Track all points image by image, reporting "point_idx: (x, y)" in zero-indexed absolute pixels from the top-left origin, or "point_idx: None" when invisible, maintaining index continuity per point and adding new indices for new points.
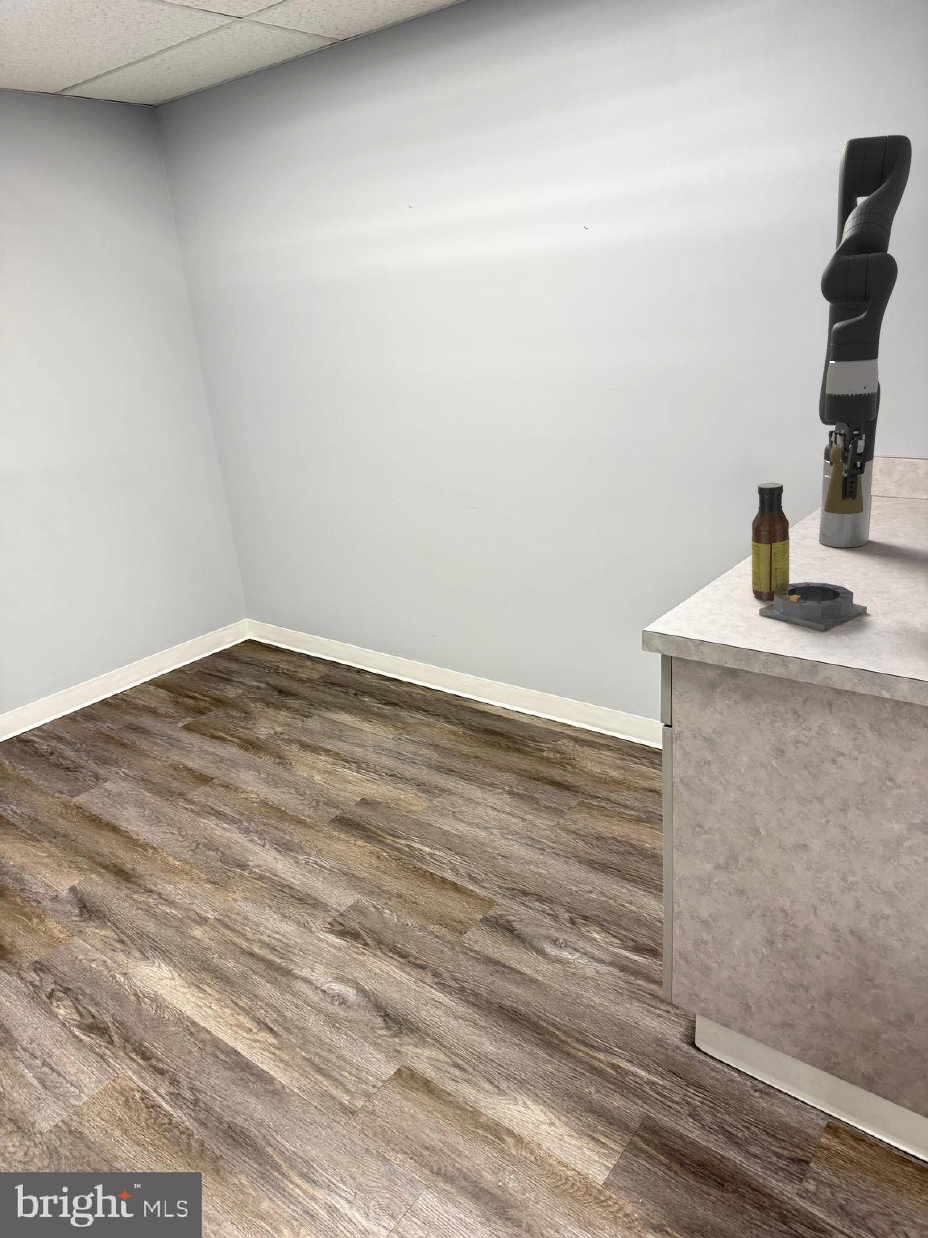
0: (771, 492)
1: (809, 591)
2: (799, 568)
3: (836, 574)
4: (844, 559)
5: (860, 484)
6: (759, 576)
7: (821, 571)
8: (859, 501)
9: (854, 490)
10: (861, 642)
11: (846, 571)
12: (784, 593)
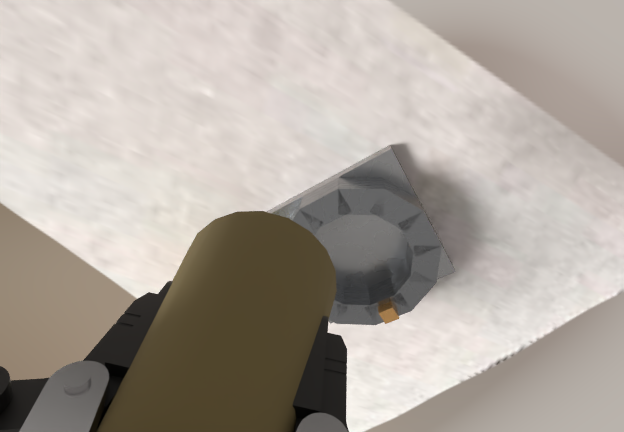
0: None
1: None
2: (54, 128)
3: (110, 68)
4: None
5: (287, 330)
6: None
7: (82, 91)
8: (319, 283)
9: (343, 367)
10: (528, 234)
11: (87, 29)
12: (338, 307)
